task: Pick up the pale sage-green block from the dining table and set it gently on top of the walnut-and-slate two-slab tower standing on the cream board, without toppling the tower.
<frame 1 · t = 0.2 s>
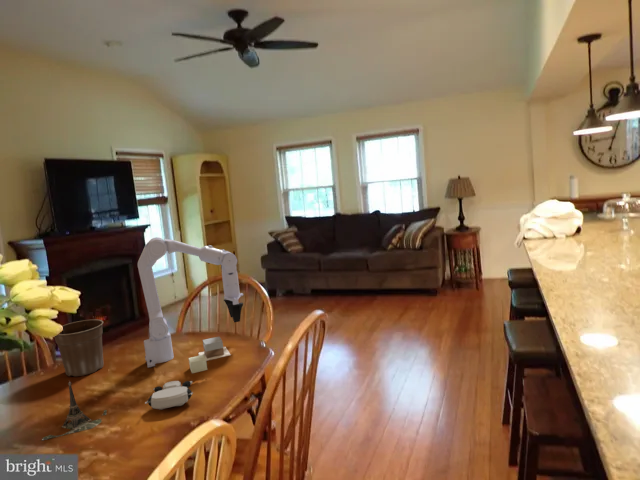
hand: (235, 319, 174), 10 cm above the table, tool pointing down, fingers open, 7 cm apart
sage block: (198, 371, 153), on the table
slate slab: (213, 347, 166), point 3 cm above the table, touching walnut slab
walnut slab: (214, 353, 166), point 1 cm above the table, touching cream board, slate slab
cream board: (214, 355, 166), on the table
plant pot: (85, 370, 165), on the table
eiffel tower figurine: (76, 427, 125), on the table
robot toy: (172, 402, 133), on the table
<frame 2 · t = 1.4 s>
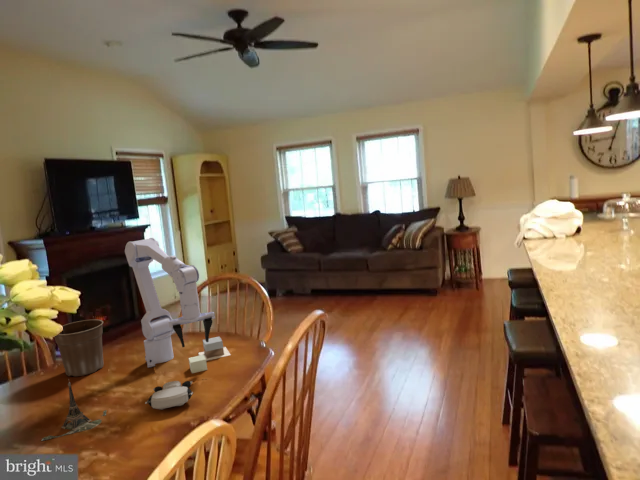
hand: (195, 343, 152), 9 cm above the table, tool pointing down, fingers open, 7 cm apart
nothing on the table moved.
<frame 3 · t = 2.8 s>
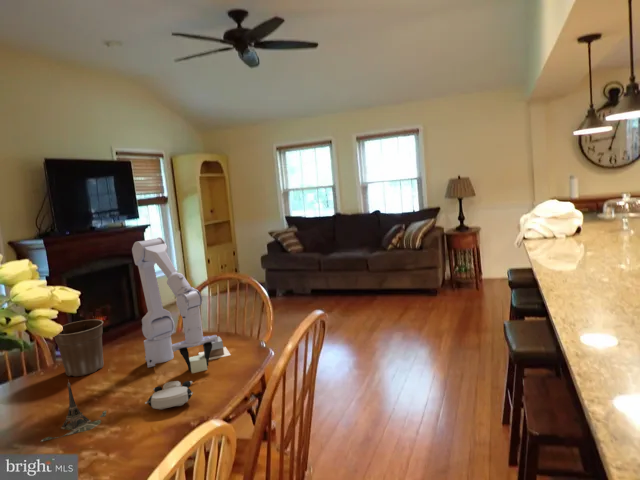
hand: (198, 367, 153), 1 cm above the table, tool pointing down, fingers closed on sage block, 5 cm apart
sage block: (199, 371, 153), on the table, touching gripper
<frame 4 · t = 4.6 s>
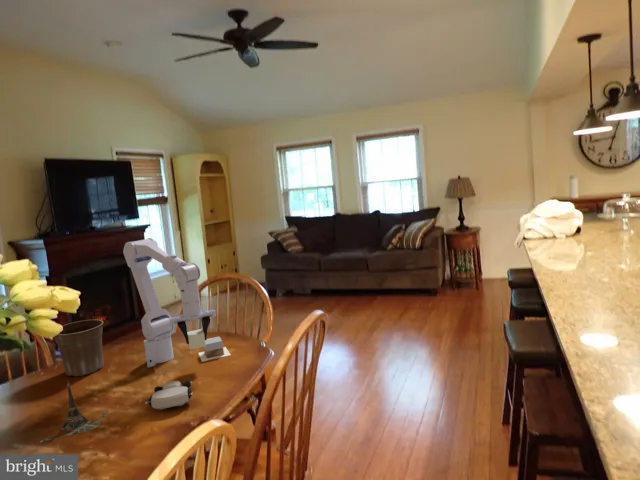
hand: (196, 341, 153), 10 cm above the table, tool pointing down, fingers closed on sage block, 5 cm apart
sage block: (197, 345, 154), point 8 cm above the table, touching gripper
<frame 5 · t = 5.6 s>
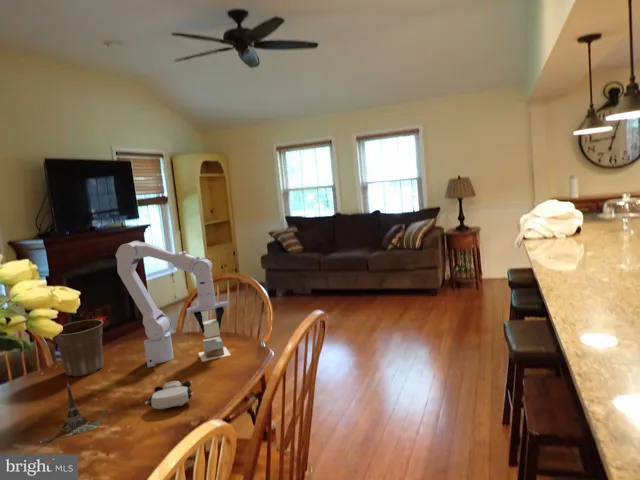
hand: (211, 330, 165), 10 cm above the table, tool pointing down, fingers closed on sage block, 5 cm apart
sage block: (211, 334, 165), point 8 cm above the table, touching gripper
when the fingers open (8 cm above the table, at t = 6.3 s): sage block stays where it is, resting on slate slab.
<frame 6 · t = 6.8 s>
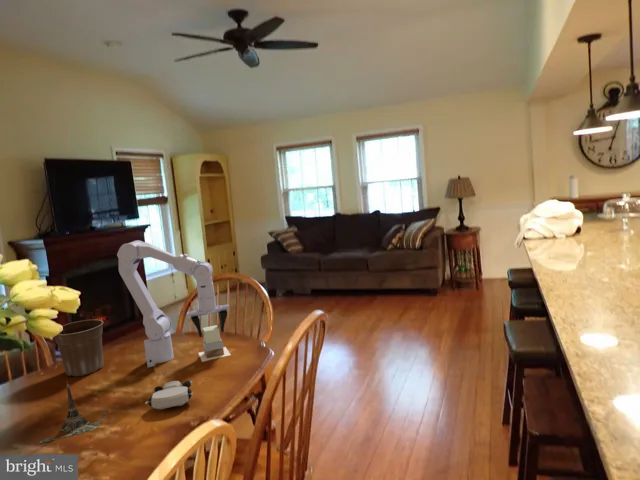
hand: (211, 333, 165), 8 cm above the table, tool pointing down, fingers open, 7 cm apart
sage block: (212, 340, 165), point 6 cm above the table, touching slate slab
slate slab: (213, 347, 166), point 3 cm above the table, touching sage block, walnut slab
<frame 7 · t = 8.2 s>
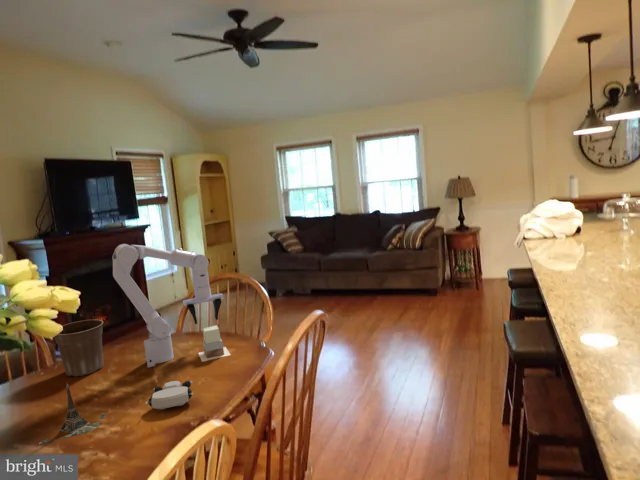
hand: (206, 321, 174), 10 cm above the table, tool pointing down, fingers open, 7 cm apart
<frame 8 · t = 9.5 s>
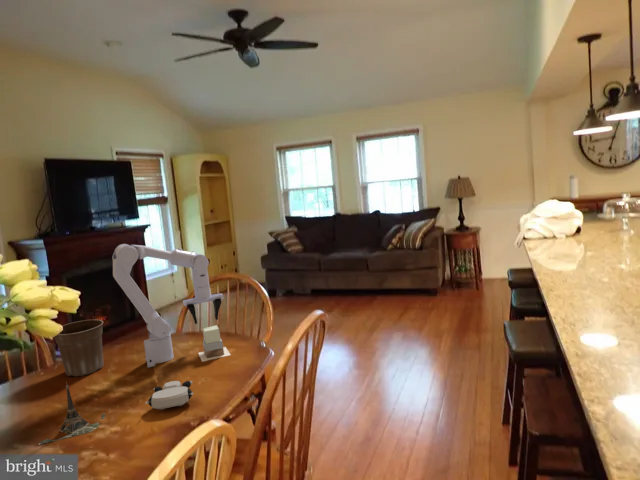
hand: (206, 321, 174), 10 cm above the table, tool pointing down, fingers open, 7 cm apart
at the end: sage block 0.0 cm off-centre on the slate slab, point 2.5 cm above the slate slab's base; slate slab 0.0 cm off-centre on the walnut slab, point 2.5 cm above the walnut slab's base; sage block tilted 0° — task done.
